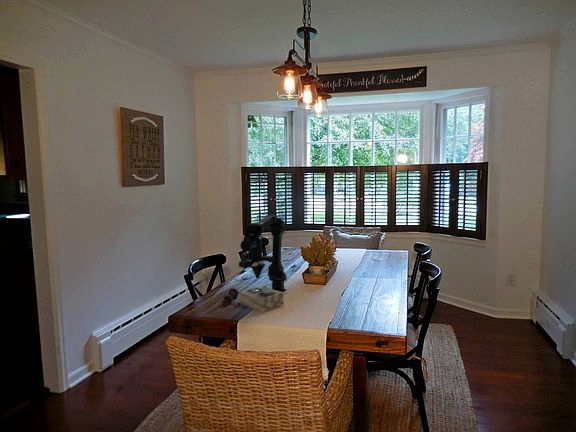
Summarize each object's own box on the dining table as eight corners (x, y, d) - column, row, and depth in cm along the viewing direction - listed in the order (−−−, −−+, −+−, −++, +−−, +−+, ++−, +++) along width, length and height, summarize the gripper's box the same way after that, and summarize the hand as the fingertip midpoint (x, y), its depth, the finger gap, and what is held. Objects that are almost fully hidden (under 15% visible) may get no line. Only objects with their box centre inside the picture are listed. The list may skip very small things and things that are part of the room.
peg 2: (267, 295, 213) (266, 284, 212) (272, 297, 210) (272, 286, 209) (261, 297, 210) (260, 286, 209) (266, 299, 207) (266, 287, 206)
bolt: (224, 309, 213) (233, 299, 228) (232, 305, 212) (240, 295, 227) (218, 300, 213) (227, 290, 228) (226, 295, 212) (234, 286, 226)
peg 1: (256, 299, 219) (255, 288, 219) (261, 300, 217) (260, 289, 216) (250, 301, 217) (249, 290, 216) (255, 302, 214) (254, 291, 213)
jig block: (260, 297, 225) (260, 285, 224) (283, 303, 212) (283, 291, 211) (239, 303, 215) (239, 291, 214) (262, 311, 202) (262, 298, 202)
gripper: (260, 243, 224) (261, 272, 226) (231, 249, 211) (233, 279, 213) (273, 245, 216) (275, 275, 217) (244, 251, 203) (246, 283, 205)
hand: (257, 278), depth 213 cm, fingers closed
